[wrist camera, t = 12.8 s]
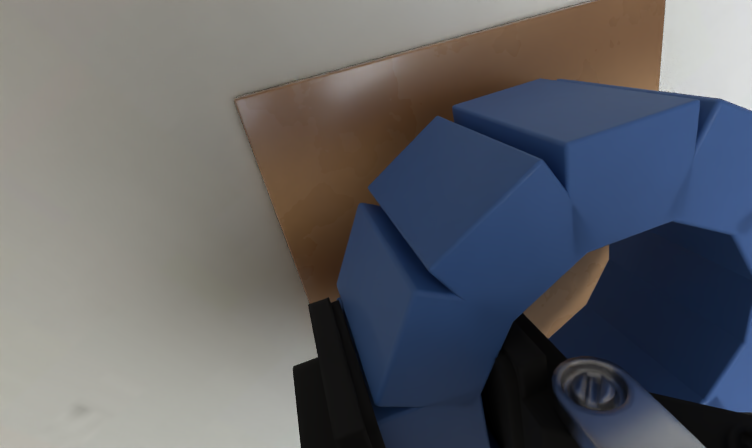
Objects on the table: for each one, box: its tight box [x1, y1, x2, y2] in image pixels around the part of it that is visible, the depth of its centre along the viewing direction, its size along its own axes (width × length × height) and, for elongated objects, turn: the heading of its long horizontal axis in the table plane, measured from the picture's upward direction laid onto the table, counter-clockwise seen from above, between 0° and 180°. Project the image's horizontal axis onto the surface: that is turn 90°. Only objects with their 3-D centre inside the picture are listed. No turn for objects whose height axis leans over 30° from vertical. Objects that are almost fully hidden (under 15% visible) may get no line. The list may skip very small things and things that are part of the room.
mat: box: [234, 0, 666, 339], centre depth 13 cm, size 12×12×1 cm
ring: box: [337, 78, 752, 448], centre depth 10 cm, size 10×10×4 cm
